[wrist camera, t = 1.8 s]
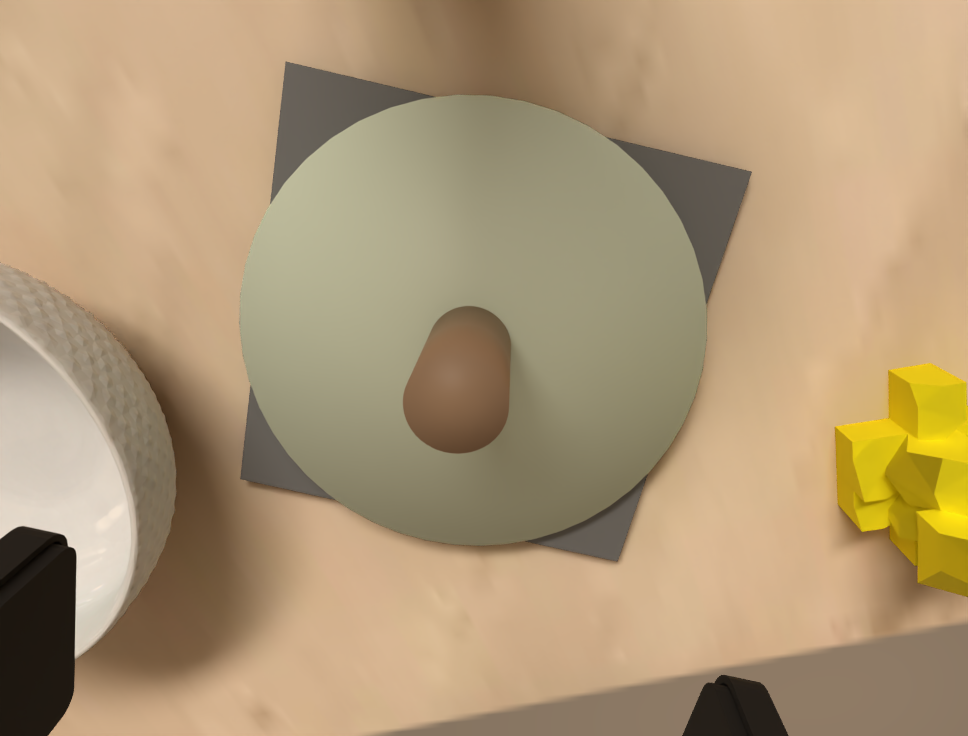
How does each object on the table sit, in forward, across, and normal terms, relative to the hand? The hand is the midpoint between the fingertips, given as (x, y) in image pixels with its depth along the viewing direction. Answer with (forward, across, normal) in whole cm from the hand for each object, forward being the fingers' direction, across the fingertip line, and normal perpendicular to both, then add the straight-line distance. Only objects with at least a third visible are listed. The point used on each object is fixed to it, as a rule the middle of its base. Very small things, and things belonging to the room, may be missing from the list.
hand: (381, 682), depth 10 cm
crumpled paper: (+18, -19, +1) cm, 27 cm away
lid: (+17, 0, 0) cm, 17 cm away
